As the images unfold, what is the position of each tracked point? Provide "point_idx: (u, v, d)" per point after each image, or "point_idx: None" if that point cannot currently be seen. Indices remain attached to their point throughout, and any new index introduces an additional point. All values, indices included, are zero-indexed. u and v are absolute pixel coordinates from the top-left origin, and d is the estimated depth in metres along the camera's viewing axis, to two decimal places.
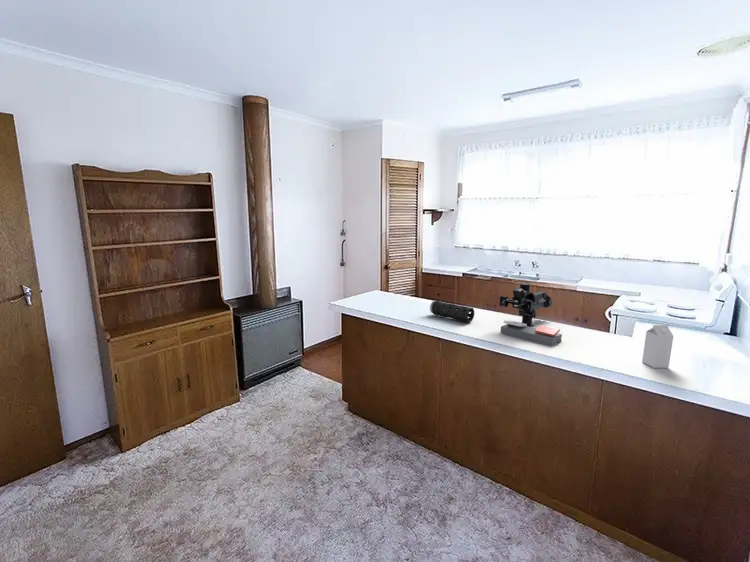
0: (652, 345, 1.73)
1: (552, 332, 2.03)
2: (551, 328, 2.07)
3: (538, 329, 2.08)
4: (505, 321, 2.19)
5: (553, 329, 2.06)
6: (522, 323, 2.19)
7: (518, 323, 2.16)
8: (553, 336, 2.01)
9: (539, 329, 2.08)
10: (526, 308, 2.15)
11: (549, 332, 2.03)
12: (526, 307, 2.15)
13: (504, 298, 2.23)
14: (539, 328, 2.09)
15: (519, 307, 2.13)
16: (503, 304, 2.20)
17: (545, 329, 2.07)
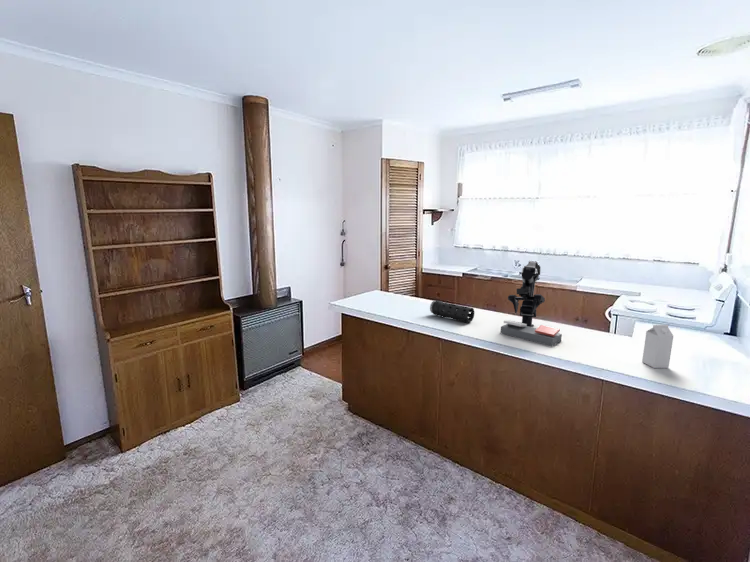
0: (652, 345, 1.73)
1: (552, 332, 2.03)
2: (551, 328, 2.07)
3: (538, 329, 2.08)
4: (505, 321, 2.19)
5: (553, 329, 2.06)
6: (522, 323, 2.19)
7: (518, 323, 2.16)
8: (553, 336, 2.01)
9: (539, 329, 2.08)
10: (539, 302, 2.10)
11: (549, 332, 2.03)
12: (538, 302, 2.10)
13: (513, 301, 2.17)
14: (539, 328, 2.09)
15: (534, 310, 2.09)
16: (516, 308, 2.16)
17: (545, 329, 2.07)
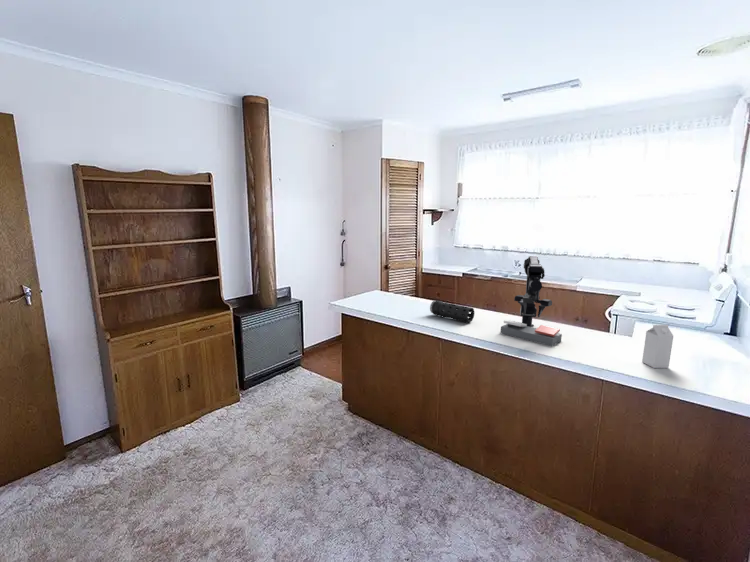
0: (652, 345, 1.73)
1: (552, 332, 2.03)
2: (551, 328, 2.07)
3: (538, 329, 2.08)
4: (505, 321, 2.19)
5: (553, 329, 2.06)
6: (522, 323, 2.19)
7: (518, 323, 2.16)
8: (553, 336, 2.01)
9: (539, 329, 2.08)
10: None
11: (549, 332, 2.03)
12: None
13: (521, 303, 2.13)
14: (539, 328, 2.09)
15: (540, 314, 2.09)
16: (525, 309, 2.15)
17: (545, 329, 2.07)
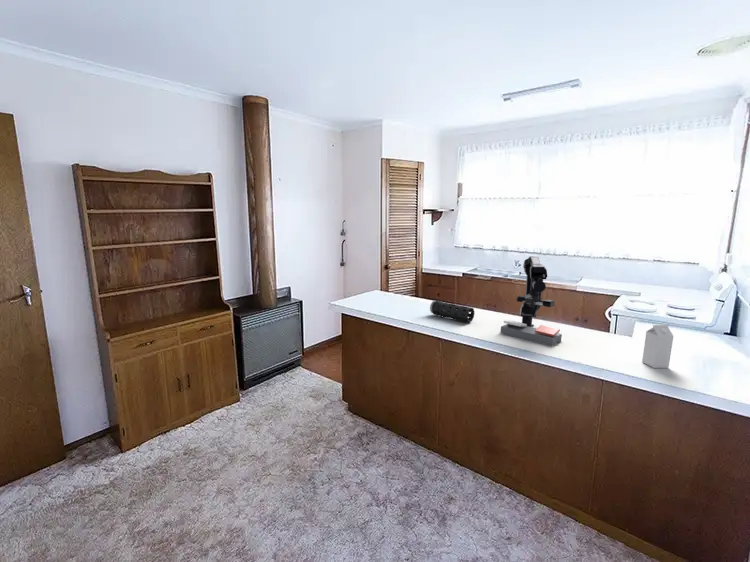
0: (652, 345, 1.73)
1: (552, 332, 2.03)
2: (551, 328, 2.07)
3: (538, 329, 2.08)
4: (505, 321, 2.19)
5: (553, 329, 2.06)
6: (522, 323, 2.19)
7: (518, 323, 2.16)
8: (553, 336, 2.01)
9: (539, 329, 2.08)
10: None
11: (549, 332, 2.03)
12: None
13: (530, 305, 2.10)
14: (539, 328, 2.09)
15: (535, 313, 2.11)
16: None
17: (545, 329, 2.07)
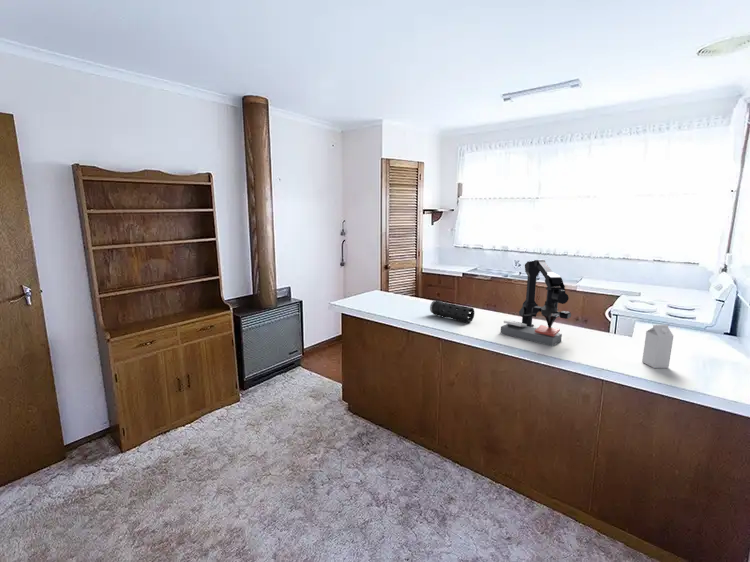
0: (652, 345, 1.73)
1: (552, 332, 2.03)
2: (551, 328, 2.07)
3: (538, 329, 2.08)
4: (505, 321, 2.19)
5: (553, 329, 2.06)
6: (522, 323, 2.19)
7: (518, 323, 2.16)
8: (553, 336, 2.01)
9: (539, 329, 2.08)
10: None
11: (549, 332, 2.03)
12: None
13: (545, 316, 2.07)
14: (539, 328, 2.09)
15: (551, 324, 2.08)
16: None
17: (545, 329, 2.07)
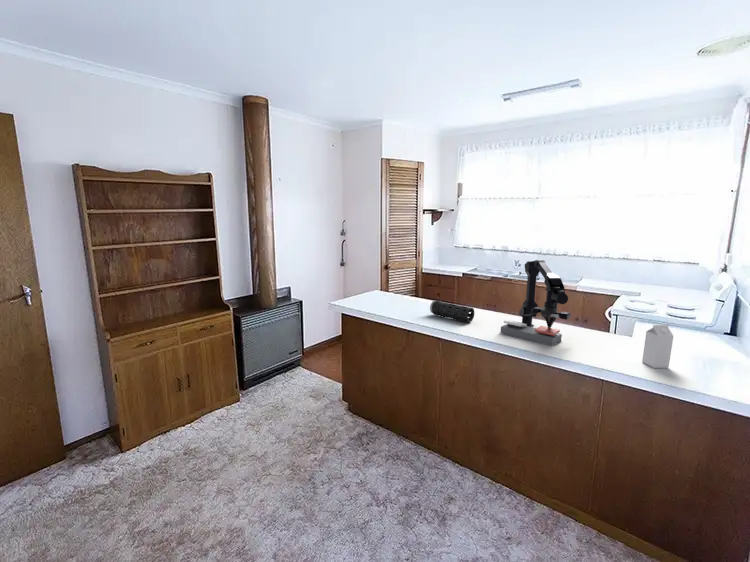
0: (652, 345, 1.73)
1: (552, 332, 2.03)
2: (551, 328, 2.07)
3: (538, 329, 2.08)
4: (505, 321, 2.19)
5: (553, 329, 2.06)
6: (522, 323, 2.19)
7: (518, 323, 2.16)
8: (553, 335, 2.01)
9: (539, 329, 2.08)
10: None
11: (549, 331, 2.03)
12: None
13: (545, 317, 2.07)
14: (539, 328, 2.09)
15: (551, 325, 2.08)
16: None
17: (545, 329, 2.07)
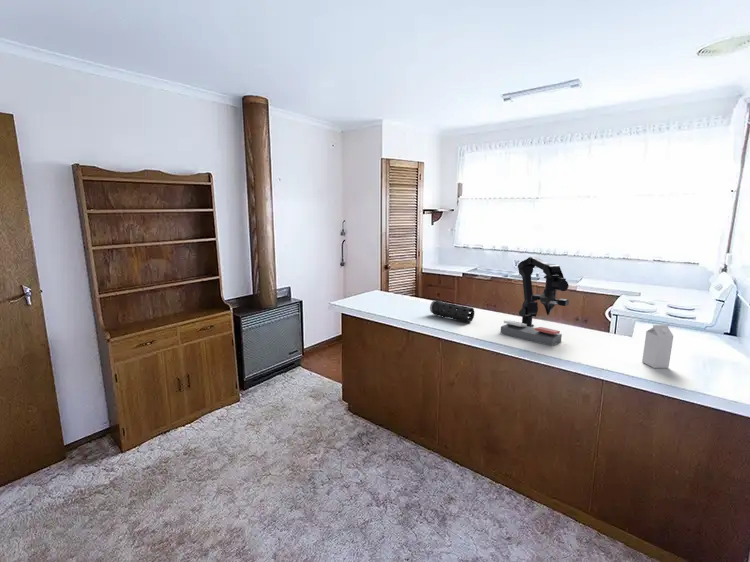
0: (652, 345, 1.73)
1: (552, 331, 2.03)
2: (551, 329, 2.08)
3: (538, 328, 2.08)
4: (505, 321, 2.19)
5: (553, 330, 2.06)
6: (522, 323, 2.19)
7: (518, 323, 2.16)
8: None
9: (539, 328, 2.08)
10: None
11: (549, 330, 2.03)
12: None
13: (544, 304, 2.14)
14: (539, 328, 2.09)
15: (550, 312, 2.15)
16: None
17: (545, 329, 2.07)
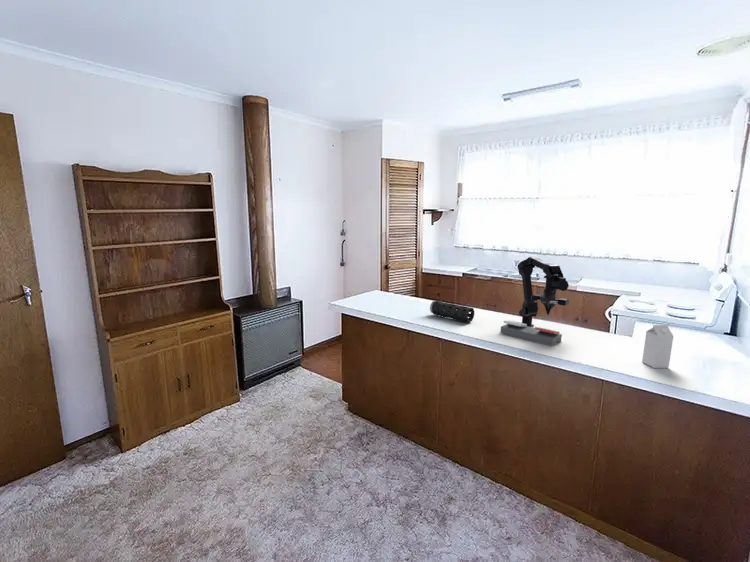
0: (652, 345, 1.73)
1: (552, 330, 2.03)
2: (551, 330, 2.08)
3: None
4: (505, 321, 2.19)
5: (553, 330, 2.06)
6: (522, 323, 2.19)
7: (518, 323, 2.16)
8: None
9: None
10: None
11: (549, 330, 2.03)
12: None
13: (544, 304, 2.14)
14: None
15: (550, 311, 2.15)
16: None
17: None
